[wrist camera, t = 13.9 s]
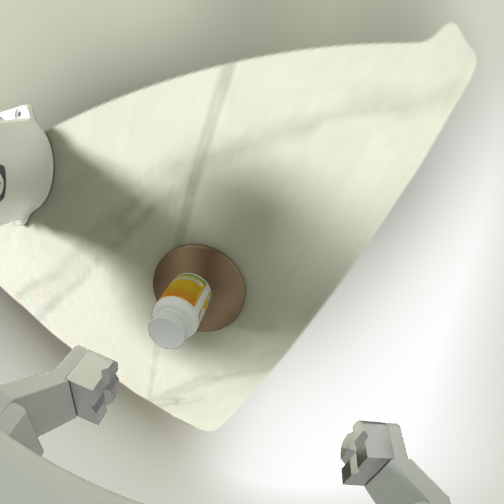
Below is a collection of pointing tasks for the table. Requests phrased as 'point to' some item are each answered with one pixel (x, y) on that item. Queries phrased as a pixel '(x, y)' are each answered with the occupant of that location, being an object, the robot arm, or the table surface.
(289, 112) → the table surface
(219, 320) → the walnut coaster
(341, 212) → the table surface
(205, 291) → the supplement bottle
